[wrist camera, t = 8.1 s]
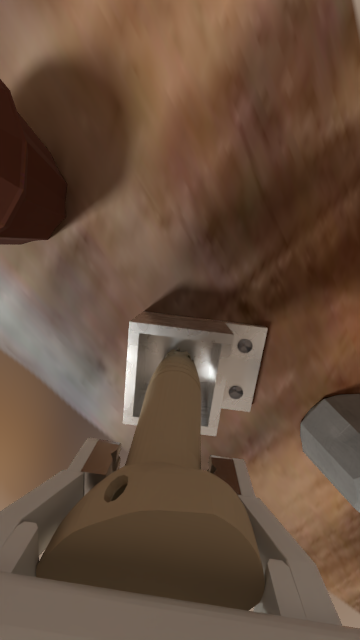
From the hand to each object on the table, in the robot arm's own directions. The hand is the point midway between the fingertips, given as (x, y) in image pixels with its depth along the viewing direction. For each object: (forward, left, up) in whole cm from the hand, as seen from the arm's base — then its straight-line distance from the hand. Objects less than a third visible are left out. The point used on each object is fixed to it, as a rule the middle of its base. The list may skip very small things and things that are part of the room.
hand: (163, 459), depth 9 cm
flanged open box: (0, +2, -12) cm, 12 cm away
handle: (0, 0, -11) cm, 11 cm away
